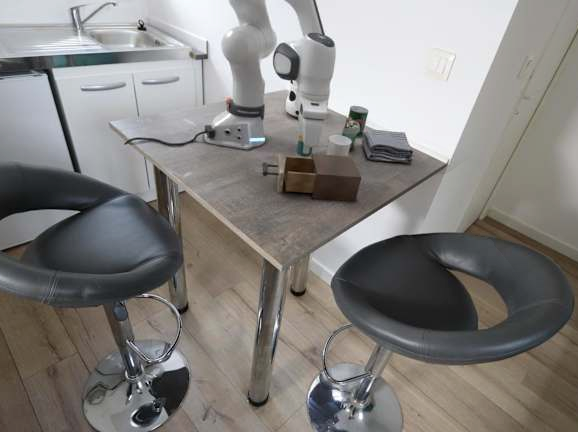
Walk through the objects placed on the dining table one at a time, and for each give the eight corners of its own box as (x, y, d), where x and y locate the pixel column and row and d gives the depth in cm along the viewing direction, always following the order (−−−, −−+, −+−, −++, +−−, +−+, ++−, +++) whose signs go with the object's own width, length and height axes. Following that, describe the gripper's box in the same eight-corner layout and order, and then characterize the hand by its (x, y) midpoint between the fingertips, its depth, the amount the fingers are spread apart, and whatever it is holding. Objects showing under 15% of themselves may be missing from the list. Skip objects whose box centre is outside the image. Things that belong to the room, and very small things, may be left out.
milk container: (321, 125, 157) (329, 84, 146) (283, 119, 156) (288, 78, 145) (321, 112, 171) (327, 73, 160) (285, 107, 170) (290, 68, 159)
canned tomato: (362, 131, 157) (368, 107, 150) (362, 138, 150) (369, 113, 144) (344, 128, 157) (350, 104, 150) (344, 135, 150) (350, 110, 144)
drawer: (261, 191, 103) (263, 171, 99) (261, 171, 113) (263, 152, 109) (318, 195, 106) (322, 175, 102) (313, 175, 116) (316, 157, 112)
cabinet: (312, 198, 106) (317, 173, 101) (308, 176, 117) (311, 153, 112) (355, 201, 108) (361, 177, 103) (346, 179, 119) (352, 156, 114)
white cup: (339, 173, 121) (345, 146, 116) (319, 165, 124) (324, 139, 118) (349, 165, 127) (355, 140, 121) (330, 158, 130) (335, 133, 124)
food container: (353, 156, 134) (359, 131, 129) (338, 152, 135) (343, 128, 129) (356, 144, 145) (362, 120, 139) (341, 140, 145) (346, 117, 139)
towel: (359, 144, 145) (363, 126, 140) (401, 148, 147) (407, 131, 143) (367, 161, 132) (372, 142, 128) (412, 165, 135) (419, 147, 130)
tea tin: (312, 157, 102) (314, 142, 99) (297, 156, 101) (299, 140, 99) (310, 150, 106) (313, 135, 103) (295, 149, 105) (298, 134, 102)
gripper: (297, 88, 102) (291, 133, 110) (303, 113, 86) (296, 163, 94) (318, 91, 103) (311, 135, 111) (328, 115, 87) (319, 165, 95)
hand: (304, 148), depth 102 cm, fingers closed on tea tin, 4 cm apart
